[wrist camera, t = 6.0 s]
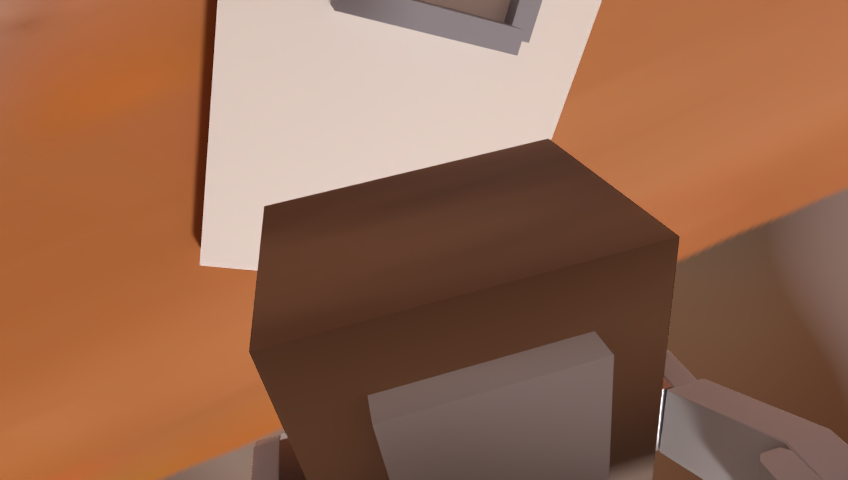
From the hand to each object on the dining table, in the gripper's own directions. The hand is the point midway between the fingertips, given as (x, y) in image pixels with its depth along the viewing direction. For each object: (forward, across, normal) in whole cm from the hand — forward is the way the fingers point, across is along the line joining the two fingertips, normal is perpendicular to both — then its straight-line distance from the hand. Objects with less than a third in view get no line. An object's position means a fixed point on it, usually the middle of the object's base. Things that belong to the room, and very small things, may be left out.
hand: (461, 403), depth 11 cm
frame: (+1, 0, 0) cm, 1 cm away
